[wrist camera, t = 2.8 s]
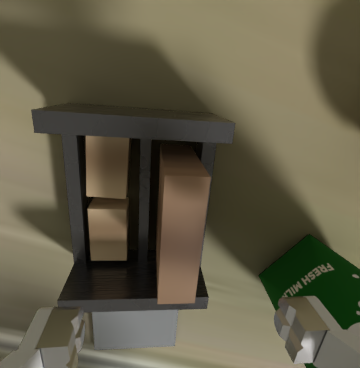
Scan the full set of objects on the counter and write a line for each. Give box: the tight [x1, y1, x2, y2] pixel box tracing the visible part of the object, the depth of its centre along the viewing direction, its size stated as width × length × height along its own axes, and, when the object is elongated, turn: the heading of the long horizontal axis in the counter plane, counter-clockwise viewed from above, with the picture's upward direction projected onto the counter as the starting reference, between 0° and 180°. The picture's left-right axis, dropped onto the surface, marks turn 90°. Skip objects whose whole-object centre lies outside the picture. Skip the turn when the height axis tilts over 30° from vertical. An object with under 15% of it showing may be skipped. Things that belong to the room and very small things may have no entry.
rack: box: [31, 103, 235, 312], centre depth 19 cm, size 14×11×6 cm
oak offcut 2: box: [88, 197, 129, 261], centre depth 21 cm, size 5×3×2 cm, turn 176°
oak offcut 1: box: [86, 136, 131, 199], centre depth 19 cm, size 5×3×2 cm, turn 173°
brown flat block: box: [156, 144, 211, 304], centre depth 18 cm, size 9×2×8 cm, turn 176°
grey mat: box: [92, 310, 178, 350], centre depth 26 cm, size 10×9×1 cm
